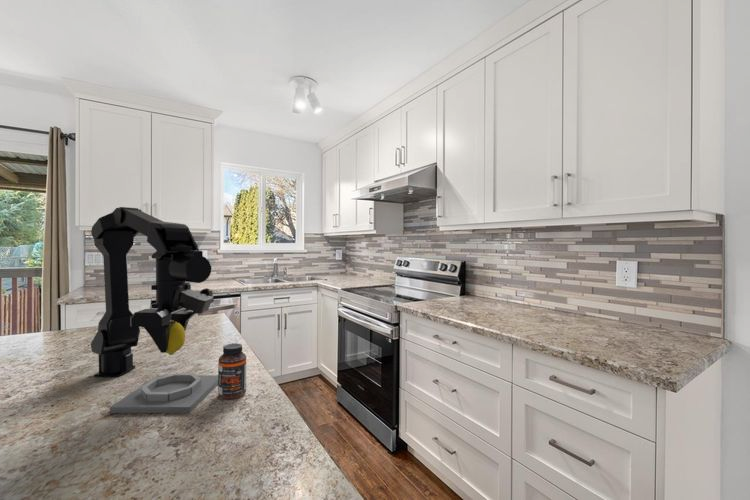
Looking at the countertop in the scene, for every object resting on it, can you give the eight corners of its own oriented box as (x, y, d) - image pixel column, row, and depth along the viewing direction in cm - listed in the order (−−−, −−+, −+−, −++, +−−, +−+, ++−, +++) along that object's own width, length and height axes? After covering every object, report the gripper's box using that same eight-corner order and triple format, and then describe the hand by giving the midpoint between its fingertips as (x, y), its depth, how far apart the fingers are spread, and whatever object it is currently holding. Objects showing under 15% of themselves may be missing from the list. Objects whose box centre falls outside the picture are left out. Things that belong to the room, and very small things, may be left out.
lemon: (172, 360, 74) (172, 323, 73) (150, 358, 75) (150, 322, 74) (191, 352, 79) (190, 317, 79) (170, 350, 80) (170, 316, 80)
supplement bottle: (218, 403, 74) (218, 351, 73) (217, 391, 79) (217, 343, 78) (248, 397, 76) (247, 347, 76) (244, 387, 82) (244, 340, 81)
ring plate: (109, 413, 69) (109, 399, 69) (157, 380, 85) (157, 369, 85) (189, 412, 69) (189, 399, 69) (222, 380, 85) (222, 369, 85)
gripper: (185, 285, 67) (185, 363, 68) (224, 275, 86) (224, 336, 86) (127, 285, 67) (128, 363, 67) (179, 274, 85) (180, 336, 86)
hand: (171, 348), depth 77 cm, fingers closed on lemon, 5 cm apart
